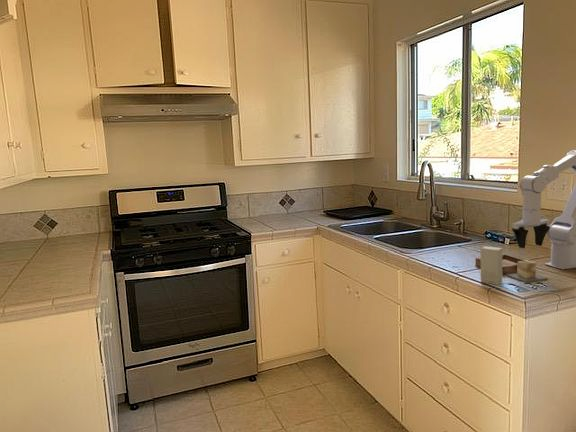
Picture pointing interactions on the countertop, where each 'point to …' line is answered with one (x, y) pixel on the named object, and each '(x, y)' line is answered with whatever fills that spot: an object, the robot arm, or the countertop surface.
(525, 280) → the mat
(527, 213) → the robot arm
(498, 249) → the skincare box
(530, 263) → the maple block
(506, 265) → the slot box
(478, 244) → the countertop surface
